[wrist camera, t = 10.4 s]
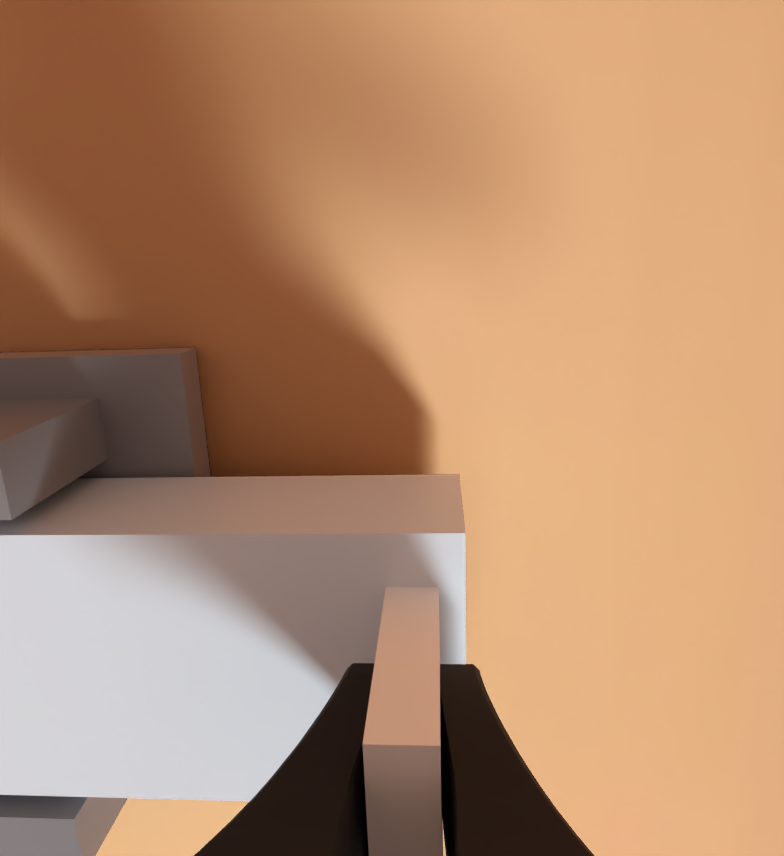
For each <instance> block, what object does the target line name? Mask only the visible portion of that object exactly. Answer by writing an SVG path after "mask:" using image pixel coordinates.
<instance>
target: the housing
mask: <svg viewBox="0 0 784 856" xmlns="http://www.w3.org/2000/svg"><path fill="white" fill-rule="evenodd" d="M158 477H211V475H210V467H209V458H208V450H207V441H206V432H205V424H204V415H203V407H202V398H201V390H200V381H199V373H198V364H197V356H196V347H193V348H155V349H117V350H79V351H41V352H3V353H0V520H13V519H14V518H16V517H17V516H19V515H21V514H22V513H24V512H25V511H27V510H28V509H30V508H32V507H33V506H35V505H36V504H38V503H39V502H41V501H42V500H44V499H46V498H47V497H49V496H50V495H52V494H53V493H55V492H57V491H58V490H60V489H61V488H63V487H64V486H66V485H68V484H69V483H71V482H72V481H74V480H75V479H77V478H158ZM126 800H127V798H104V797H66V796H29V795H0V856H95V855H96V853H97V852H98V850H99V848H100V846H101V844H102V843H103V841H104V839H105V837H106V836H107V834H108V832H109V830H110V828H111V827H112V825H113V823H114V821H115V820H116V818H117V816H118V814H119V812H120V811H121V809H122V807H123V805H124V804H125V802H126Z"/></svg>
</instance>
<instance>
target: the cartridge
mask: <svg viewBox="0 0 784 856" xmlns="http://www.w3.org/2000/svg"><path fill="white" fill-rule="evenodd" d="M352 663H374V670H373V677H372V683H371V690H370V697H369V704H368V710H367V717H366V724H365V730H364V737H363V744H362V745H363V763H364V780H365V798H366V815H367V833H368V850H369V856H443V819H442V767H441V711H440V664H466V555H465V525H464V515H463V505H462V496H461V486H460V476H459V474H428V475H338V476H248V477H158V478H77V479H75V480H74V481H72V482H71V483H69V484H68V485H66V486H64V487H63V488H61V489H60V490H58V491H57V492H55V493H53V494H52V495H50V496H49V497H47V498H46V499H44V500H42V501H41V502H39V503H38V504H36V505H35V506H33V507H32V508H30V509H28V510H27V511H25V512H24V513H22V514H21V515H19V516H17V517H16V518H14V519H13V520H0V795H29V796H66V797H104V798H142V799H180V800H218V801H251V800H252V798H253V797H254V796H255V795H256V794H257V793H258V792H259V791H260V790H261V788H262V787H263V786H264V785H265V784H266V783H267V782H268V781H269V779H270V778H271V777H272V776H273V775H274V773H275V772H276V771H277V770H278V768H279V767H280V766H281V765H282V763H283V762H284V761H285V760H286V758H287V757H288V756H289V755H290V753H291V752H292V751H293V750H294V748H295V747H296V746H297V745H298V743H299V742H300V741H301V739H302V738H303V736H304V735H305V734H306V732H307V731H308V729H309V728H310V726H311V725H312V724H313V722H314V721H315V719H316V718H317V717H318V715H319V714H320V712H321V711H322V709H323V708H324V706H325V705H326V703H327V702H328V700H329V698H330V697H331V695H332V694H333V692H334V691H335V689H336V687H337V686H338V684H339V682H340V680H341V679H342V677H343V675H344V673H345V671H346V669H347V668H348V667H349V666H350V665H351V664H352Z"/></svg>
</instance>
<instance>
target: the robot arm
mask: <svg viewBox="0 0 784 856" xmlns="http://www.w3.org/2000/svg"><path fill="white" fill-rule="evenodd" d="M373 670H374V663H352V664H351V665H350V666H349V667H348V668H347V669H346V671H345V673H344V675H343V677H342V679H341V680H340V682H339V684H338V686H337V687H336V689H335V691H334V692H333V694H332V695H331V697H330V698H329V700H328V702H327V703H326V705H325V706H324V708H323V709H322V711H321V712H320V714H319V715H318V717H317V718H316V719H315V721H314V722H313V724H312V725H311V726H310V728H309V729H308V731H307V732H306V734H305V735H304V736H303V738H302V739H301V741H300V742H299V743H298V745H297V746H296V747H295V748H294V750H293V751H292V752H291V753H290V755H289V756H288V757H287V758H286V760H285V761H284V762H283V763H282V765H281V766H280V767H279V768H278V770H277V771H276V772H275V773H274V775H273V776H272V777H271V778H270V779H269V781H268V782H267V783H266V784H265V785H264V786H263V787H262V788H261V790H260V791H259V792H258V793H257V794H256V795H255V796H254V797H253V798H252V800H251V801H250V802H249V803H248V804H247V805H246V806H245V807H244V808H243V809H242V810H241V811H240V812H239V813H238V814H237V815H236V816H235V817H234V818H233V819H232V820H231V821H230V822H229V823H228V824H227V825H226V826H225V827H224V828H223V829H222V830H221V831H220V832H219V833H218V834H217V835H216V836H215V837H214V838H213V839H212V840H210V841H209V842H208V843H207V844H206V845H205V846H204V847H203V848H202V849H201V850H200V851H199V852H198V853H196V854H195V855H194V856H369V850H368V833H367V815H366V798H365V780H364V763H363V745H362V744H363V737H364V730H365V724H366V717H367V710H368V704H369V697H370V690H371V683H372V677H373ZM440 711H441V767H442V819H443V829H444V839H445V849H446V856H594V855H593V854H592V852H591V851H590V850H589V849H588V848H587V846H586V845H585V844H584V843H583V842H582V841H581V839H580V838H579V837H578V836H577V835H576V833H575V832H574V831H573V830H572V828H571V827H570V826H569V824H568V823H567V822H566V821H565V819H564V818H563V817H562V815H561V814H560V813H559V812H558V810H557V809H556V808H555V806H554V805H553V803H552V802H551V801H550V799H549V798H548V797H547V795H546V794H545V792H544V791H543V789H542V788H541V787H540V785H539V784H538V782H537V781H536V779H535V778H534V776H533V775H532V773H531V771H530V770H529V768H528V767H527V765H526V764H525V762H524V761H523V759H522V757H521V756H520V754H519V752H518V751H517V749H516V747H515V746H514V744H513V742H512V740H511V739H510V737H509V735H508V733H507V732H506V730H505V728H504V726H503V724H502V723H501V721H500V719H499V717H498V715H497V713H496V711H495V709H494V707H493V705H492V702H491V700H490V698H489V696H488V694H487V691H486V689H485V686H484V684H483V681H482V678H481V675H480V671H479V670H478V669H477V668H476V667H475V666H474V665H473V664H440Z"/></svg>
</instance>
